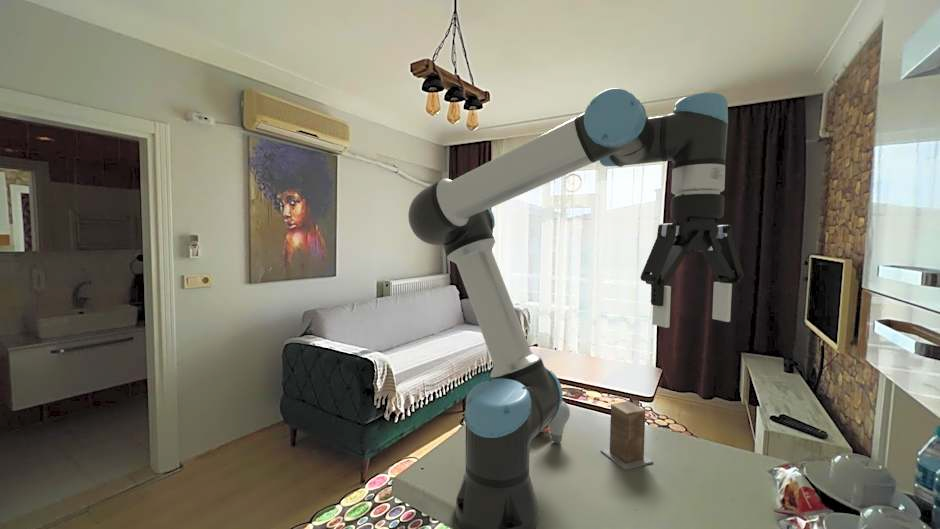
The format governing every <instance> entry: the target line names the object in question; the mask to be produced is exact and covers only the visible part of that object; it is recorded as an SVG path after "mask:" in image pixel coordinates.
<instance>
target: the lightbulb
mask: <svg viewBox="0 0 940 529" xmlns="http://www.w3.org/2000/svg"><path fill="white" fill-rule="evenodd" d="M570 413H571V412H570V407H569V405H568V404H567V402H565V401H564V400H562V404H561V407H560V409H559V411H558V412H557V415H556V416H555V418H554V419H553V420H552V421H551V422H550V423H549V425H550V431H549V432H550V433H551V436H550V437H551V438H550V439H551V441H552V442H553V443H554V444H560V443H561V442H562V440H563V439H562V438H563V434H564V428H565V426H566V423H568V421H569V419H570V415H571V414H570Z"/></svg>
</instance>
